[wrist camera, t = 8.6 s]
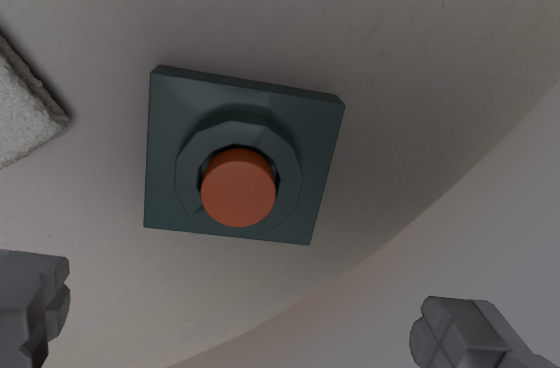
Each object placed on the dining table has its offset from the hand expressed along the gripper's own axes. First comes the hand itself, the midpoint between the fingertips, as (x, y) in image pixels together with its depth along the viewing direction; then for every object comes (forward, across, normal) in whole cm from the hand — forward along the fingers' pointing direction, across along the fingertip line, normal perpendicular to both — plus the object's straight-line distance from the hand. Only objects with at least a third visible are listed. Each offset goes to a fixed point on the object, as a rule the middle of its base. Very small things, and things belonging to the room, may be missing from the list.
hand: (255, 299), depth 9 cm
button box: (+15, 0, +2) cm, 15 cm away
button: (+12, 0, +3) cm, 12 cm away
